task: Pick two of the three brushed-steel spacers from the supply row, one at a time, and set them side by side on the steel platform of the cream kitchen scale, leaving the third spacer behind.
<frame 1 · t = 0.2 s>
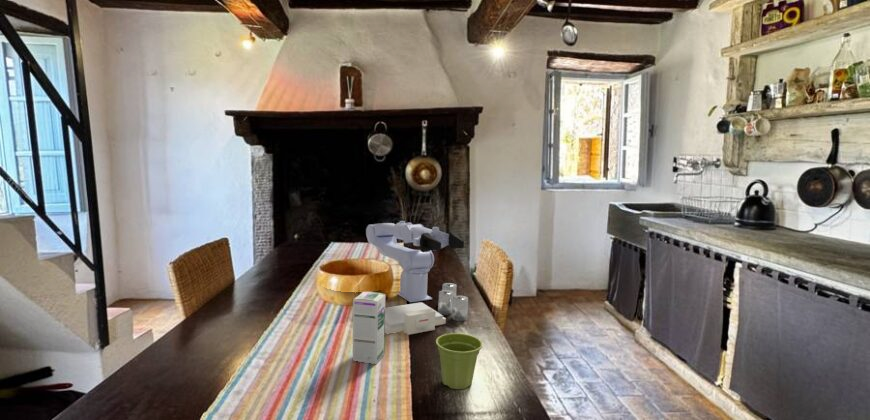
hand: (451, 245, 125), 21 cm above the table, tool horizontal, fingers open, 7 cm apart
plant pot: (456, 383, 92), on the table
syrup box: (368, 358, 101), on the table
spacer 2: (459, 318, 128), on the table
scale: (406, 321, 123), on the table
spacer 1: (445, 311, 132), on the table
spacer 3: (448, 303, 140), on the table
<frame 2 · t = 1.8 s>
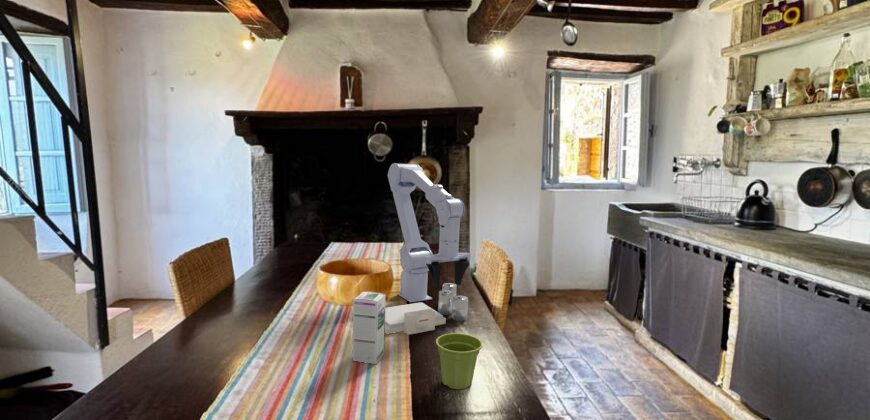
hand: (446, 285, 131), 8 cm above the table, tool pointing down, fingers open, 7 cm apart
nothing on the table moved.
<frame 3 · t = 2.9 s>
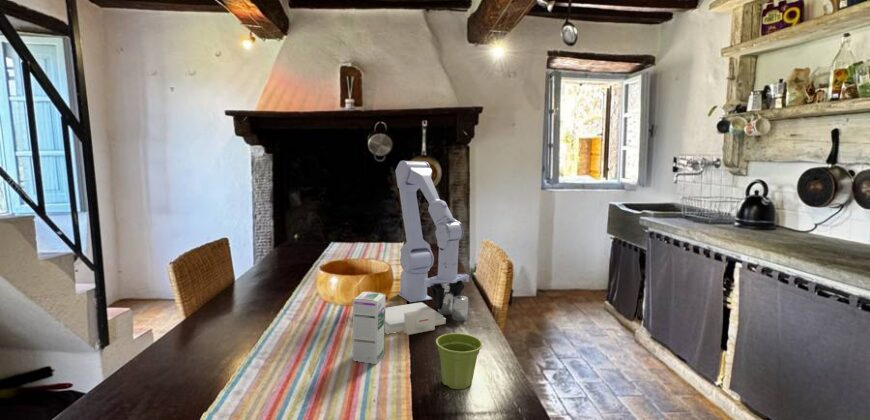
hand: (445, 307, 132), 1 cm above the table, tool pointing down, fingers closed on spacer 1, 4 cm apart
spacer 1: (445, 311, 132), on the table, touching gripper
everything else where it was.
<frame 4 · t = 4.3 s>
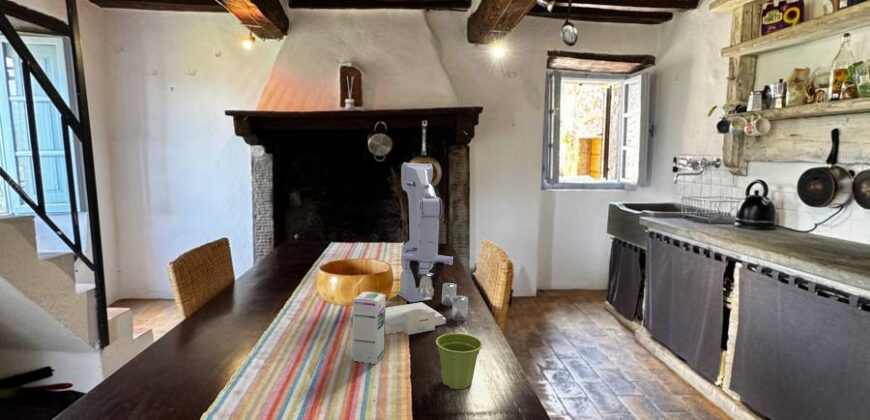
hand: (425, 287, 127), 8 cm above the table, tool pointing down, fingers closed on spacer 1, 4 cm apart
spacer 1: (425, 294, 127), point 6 cm above the table, touching gripper
everything else where it was.
when the fingers open (5 cm above the table, at t = 6.0 s): spacer 1 stays where it is, resting on scale.
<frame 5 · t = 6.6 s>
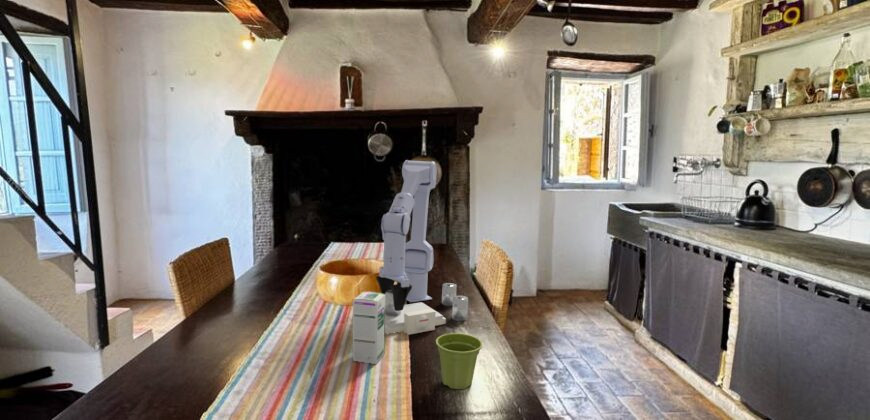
hand: (392, 305, 122), 5 cm above the table, tool pointing down, fingers open, 7 cm apart
spacer 1: (392, 313, 122), point 2 cm above the table, touching scale
everything else where it was.
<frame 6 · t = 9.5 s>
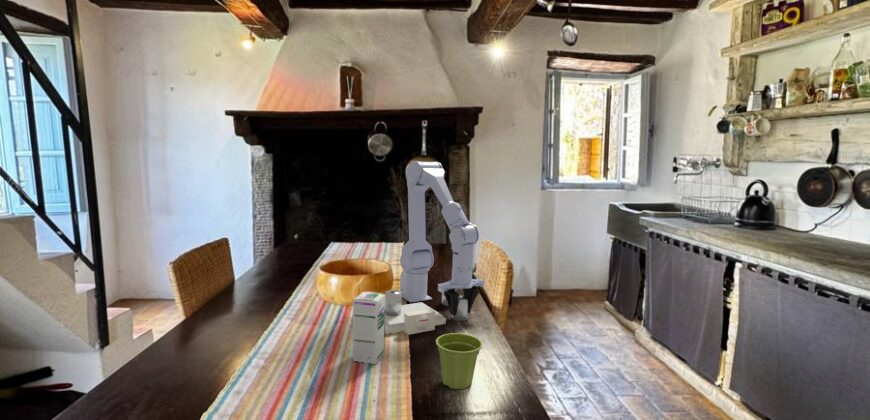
hand: (459, 313, 128), 1 cm above the table, tool pointing down, fingers closed on spacer 2, 4 cm apart
spacer 2: (459, 318, 128), on the table, touching gripper
everything else where it was.
when the fingers open (5 cm above the table, at t = 12.0 s): spacer 2 stays where it is, resting on scale.
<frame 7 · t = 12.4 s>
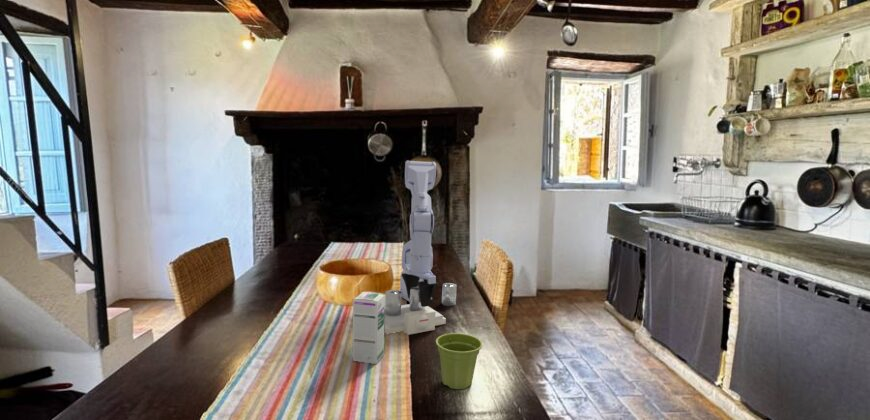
hand: (418, 301, 126), 5 cm above the table, tool pointing down, fingers open, 7 cm apart
spacer 2: (417, 309, 126), point 3 cm above the table, touching scale
everything else where it was.
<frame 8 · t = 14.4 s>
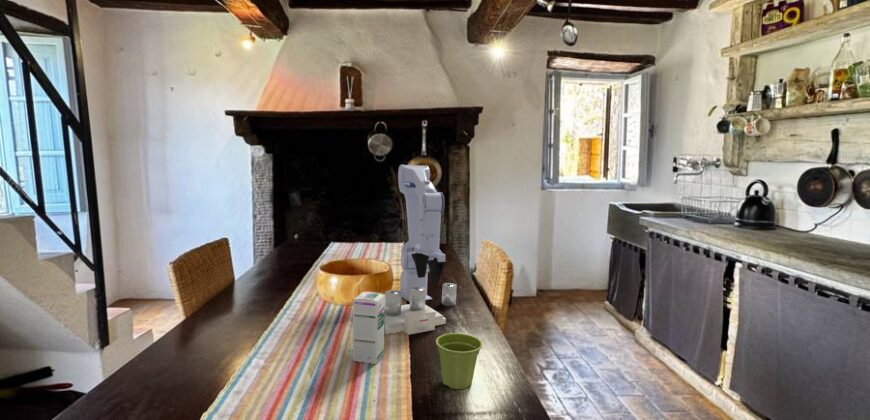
hand: (427, 280, 129), 10 cm above the table, tool pointing down, fingers open, 7 cm apart
nothing on the table moved.
at the end: spacer 1 inside the target area on the scale (3.9 cm from its centre), point 2.5 cm above the scale's base; spacer 2 inside the target area on the scale (3.9 cm from its centre), point 2.5 cm above the scale's base; spacer 2 tilted 1° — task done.
